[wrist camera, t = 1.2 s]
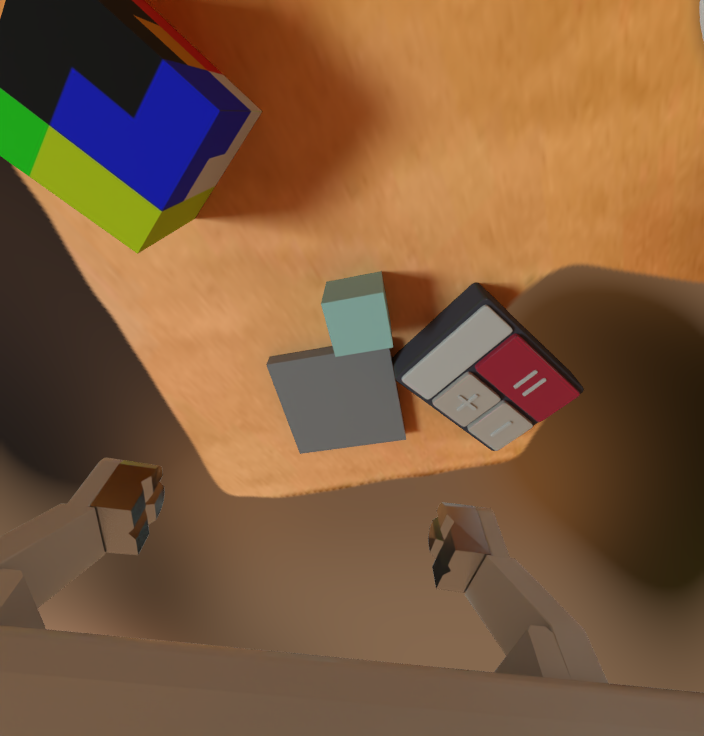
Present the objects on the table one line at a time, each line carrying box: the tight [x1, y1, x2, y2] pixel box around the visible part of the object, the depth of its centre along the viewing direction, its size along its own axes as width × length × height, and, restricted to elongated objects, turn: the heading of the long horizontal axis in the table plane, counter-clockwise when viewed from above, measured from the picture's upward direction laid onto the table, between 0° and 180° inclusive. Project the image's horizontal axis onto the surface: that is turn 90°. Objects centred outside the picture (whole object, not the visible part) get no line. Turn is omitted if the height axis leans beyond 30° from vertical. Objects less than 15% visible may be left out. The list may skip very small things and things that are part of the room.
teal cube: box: [321, 271, 393, 357], centre depth 35 cm, size 5×5×5 cm
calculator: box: [392, 283, 584, 451], centre depth 39 cm, size 11×4×15 cm
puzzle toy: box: [0, 0, 262, 254], centre depth 26 cm, size 10×10×10 cm
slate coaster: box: [267, 346, 406, 454], centre depth 42 cm, size 12×12×2 cm
